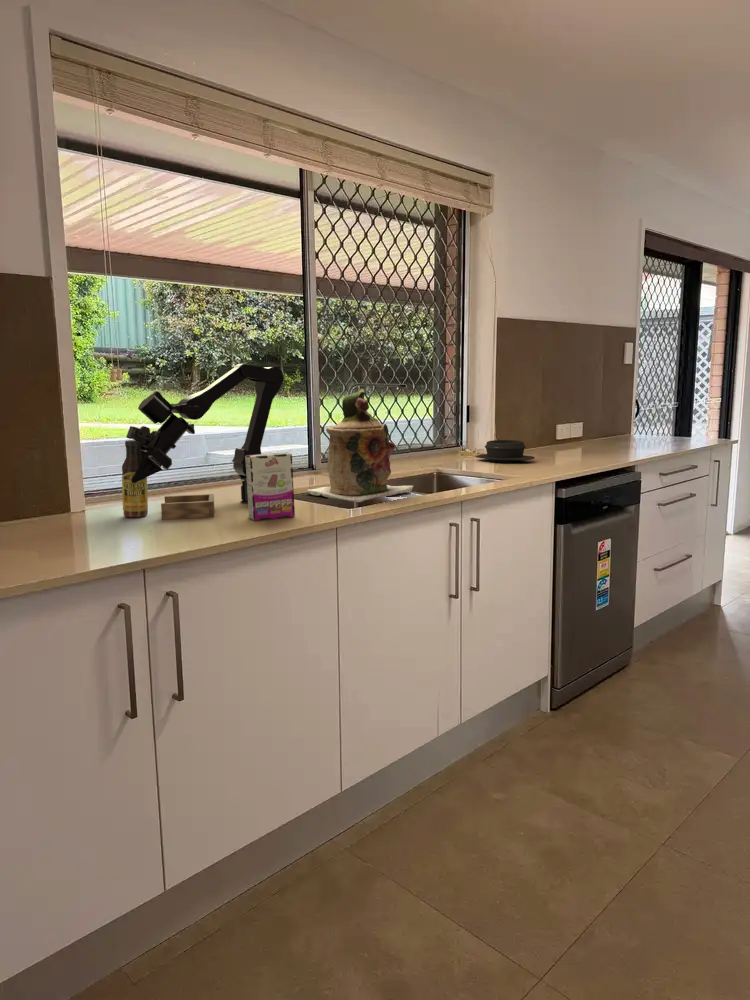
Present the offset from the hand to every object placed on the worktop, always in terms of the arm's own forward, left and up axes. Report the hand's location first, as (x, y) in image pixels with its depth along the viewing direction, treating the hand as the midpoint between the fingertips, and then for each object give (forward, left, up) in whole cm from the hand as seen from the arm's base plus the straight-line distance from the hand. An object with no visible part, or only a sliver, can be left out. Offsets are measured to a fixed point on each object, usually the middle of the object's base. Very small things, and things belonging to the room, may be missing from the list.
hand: (128, 480), depth 183 cm
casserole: (-86, -138, -10) cm, 163 cm away
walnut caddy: (-13, -7, -10) cm, 18 cm away
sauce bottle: (-1, -1, -10) cm, 10 cm away
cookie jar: (-49, -47, -10) cm, 68 cm away
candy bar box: (-37, -6, -10) cm, 39 cm away
